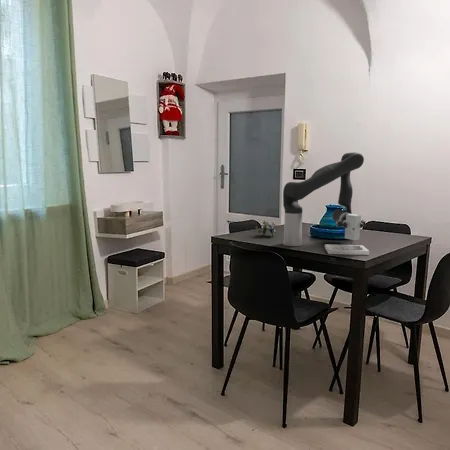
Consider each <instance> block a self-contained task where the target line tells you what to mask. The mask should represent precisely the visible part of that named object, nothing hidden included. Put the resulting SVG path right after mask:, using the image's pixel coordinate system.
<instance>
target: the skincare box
mask: <svg viewBox="0 0 450 450" xmlns="http://www.w3.org/2000/svg"><path fill="white" fill-rule="evenodd" d="M361 221H362V215H361V214H355V213H352V214H347V215H346V223H347V228H344V230H345V231H344V239H346V240H351V241H358V240H360V237H361V236H360V234H361V228H360V223H361Z"/></svg>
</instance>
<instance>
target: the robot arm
mask: <svg viewBox="0 0 450 450" xmlns="http://www.w3.org/2000/svg"><path fill="white" fill-rule="evenodd" d="M364 161H365V158H364V155H363V154H362V153H360V152H355V151H354V152H347V153H343V155H342V156H341V160H340V161H338V162H337V161H336V162H333V163H329V164H327V165H324V166H323V167H320V168H318V169H317V170H315V172H314V173H313V174H312V175H311V176H310V177H309V178H307V179H305V180H302V181H298V182H297V181H289V182H287V183H286V184H284V187H283V193H282V199H283V200H282V203H283V208H284V225H283V246H287V247H299V246H302V236H303V235H302V234H303V232H302V231H303V206H301V205H300V203H299V201H300V200H303V199H305V198H306V197H307V196H309V195H310V194H312V193H313V192H314V191H316V190H319V189H321V188H322V187H324V186H326V185H328V184H330V183H332V182H334V181H335V180H337V179H340V188H339V194H338V202H337V204H338V205H339V206H342V207H344V208H345V209H335V210H333V212H332V220H333V222H335V225H336V226H337V227H343V228H344V229H345V228H347V223H346V215H347V214H353V213H352V199H353V190H354V189H353V185H352V183H351V172H352V171H355V170H357V169H360V168H361V167H362V166H363V164H364ZM364 227H366V221H365V220H364V219H361V223H360V229H362V228H364Z"/></svg>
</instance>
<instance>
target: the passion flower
mask: <svg viewBox="0 0 450 450" xmlns="http://www.w3.org/2000/svg"><path fill="white" fill-rule="evenodd" d="M271 223H272V224H270V222H269V223H268V221H266V220H264V219H263V221H262V224H263V226H262V228H258V226H255V230H257V229H258V231H257V233H256V234H260V237H262V235H266V233H267V230H269V232H270V234H271V236H272V238H273V237H275V234H276V231H277V230H276V229H275V228H277V225H276V223H275V222H273V221H271ZM273 226H274V227H275V228H274V227H273Z"/></svg>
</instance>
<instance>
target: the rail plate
mask: <svg viewBox="0 0 450 450" xmlns="http://www.w3.org/2000/svg"><path fill="white" fill-rule="evenodd" d="M324 249H325V250H326V252H327V254H329V255H348V256H349V255H350V256H351V255H354V256H355V255H356V256H357V255H358V256H370V250H369V249H368V248H366V247H365V246H364V245H363V244H362V245H361V244H356V245H355V244H324Z"/></svg>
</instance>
